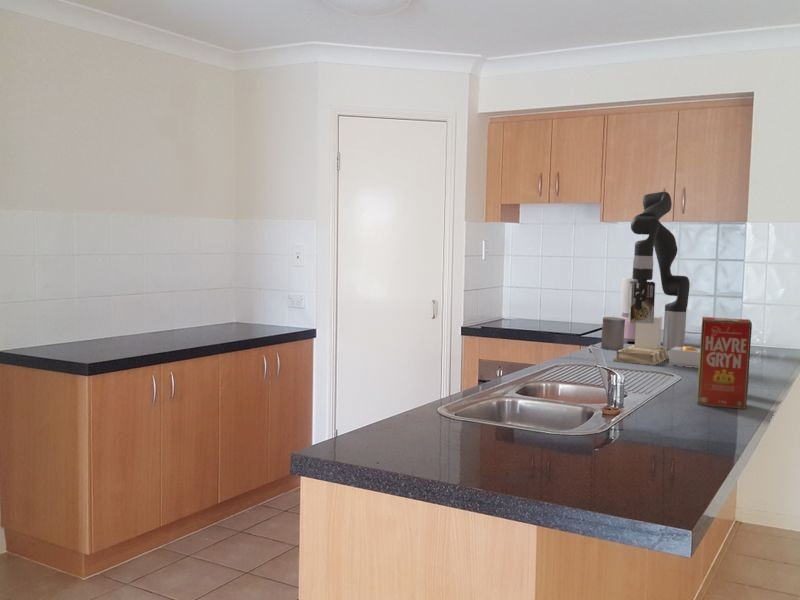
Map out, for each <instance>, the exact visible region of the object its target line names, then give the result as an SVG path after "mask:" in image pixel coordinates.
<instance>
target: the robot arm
mask: <svg viewBox="0 0 800 600" xmlns="http://www.w3.org/2000/svg"><path fill="white" fill-rule="evenodd" d="M672 204H673V203H672V197H671V195H670V193H669V192H667V191H659V192H658V191H657V192H652V193H648V194H644V195H643V198H642V206H643V212H642V213H640V214H637V215H636V216H634V217H633V219H632V221H631V222H630V229H631V231H632V232H633V233H634V234H635V235H648V237H646V239H642V240H637V241H636V242H635V244H634V252H633V253H634V257H633V262H632V263H633V264H632V275H633V277H632V278H633V279H637V280H638V281H637V283H635V284H634V298H635V309H638V310H640V309H641V304H642V296H643V295H644V290H643V292H641V289H643V283H644V282H648V281H651V280H653V276H654V251H655V255H656V260H657V263H658V268H659V275H660V276H659V277H660V282H661V283H660V284H661V288H662V292H663V293H664V294H665V295H667V296H669V297H671V296H672V297H676V299H675V301H673V302H669V303H666V304H665V306H664V318H663V319H664V320H663V337H662V348H668V350H670V349H672V348H674V347H683V346H685V345H686V343H685V341H686V339H685V338H686V328H687V327H686V325H687V324H686V323H687V309H688V306H689V305H688V304H689V295H690V294H689V293H690V288H691V287H690V285H691V284H690V279H689V277H688V276H687V275H686V276H685V275H677V274H676V275H673V274H672V271H671V267H672V264H673V262H674V260H675V259H676V256H677V255H678V245H677V242H676V237H675V235H674V234H673V233H672V231H670V229H668V228H667V227H665V226H664V225H663V224H662V223H661V222H660V220H661V218H663V217H664V216H665V215H667V214H668V213H669V212H670V211H671V210H672ZM633 233H632V234H633ZM637 294H639V295H637Z"/></svg>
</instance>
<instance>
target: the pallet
mask: <svg viewBox="0 0 800 600" xmlns="http://www.w3.org/2000/svg"><path fill="white" fill-rule="evenodd" d="M668 353H669V349H668V348H663V346H660V350H652V349H641V348H635V344H632V345H630V346H627V347H625V348H624V347H623V349H621V350H616V357H614V358H613V362H619V363H620V362H621V363H627V364H635V363H640V364H639V365H645V364H650V365H649V366H654V365H655V366H657V365H659V364H660V362H661V363H663V362H665V361H667V360H669V359H668V358H669V354H668ZM666 359H667V360H666ZM664 360H665V361H664ZM662 361H663V362H662ZM658 363H659V364H658ZM656 364H657V365H656Z"/></svg>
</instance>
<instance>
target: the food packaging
mask: <svg viewBox="0 0 800 600" xmlns="http://www.w3.org/2000/svg"><path fill="white" fill-rule="evenodd" d="M701 322H702V323H701V328H700V329H701V330H700V331H701V333H700V346H699V347H700V348H699V349H700V358H699V368H698V372H697V385H696V386H697V387H696V389H697V390H696V391H697V393H696V400H697V405H698V406H706V407H707V406H710V407H715V408H727V409H739V410H747V400H748V392H749V376H750V374H749V373H750V359H751V356H750V355H751V344H752V343H751V341H752V329H753V323H752V321H751V319H747V318H742V319H741V318H724V317H723V318H722V317H713V316H712V317H710V316H703V317H702V321H701Z"/></svg>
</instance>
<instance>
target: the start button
mask: <svg viewBox="0 0 800 600" xmlns="http://www.w3.org/2000/svg"><path fill="white" fill-rule="evenodd" d="M696 349H697V347H695V346H688V345H684V346H683V349H682V350H688V351H696Z"/></svg>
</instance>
